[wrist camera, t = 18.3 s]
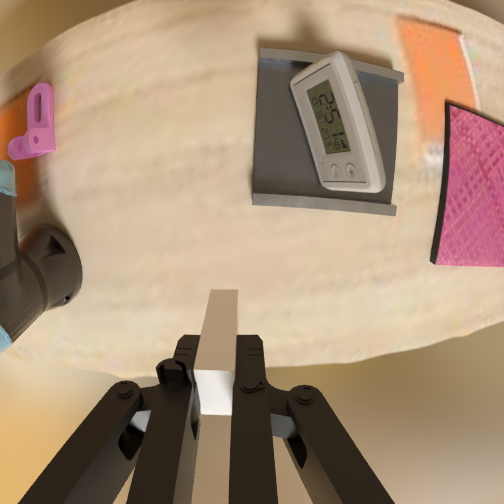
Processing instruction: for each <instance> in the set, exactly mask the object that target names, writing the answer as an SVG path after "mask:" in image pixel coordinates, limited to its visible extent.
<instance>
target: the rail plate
mask: <svg viewBox="0 0 504 504" xmlns="http://www.w3.org/2000/svg"><path fill="white" fill-rule="evenodd" d="M324 56H325V54H318V53H311V52H303V51H295V50H285V49H272V48H260V57H259V77H258V96H257V117H256V137H255V157H254V178H253V198H252V205H262V206H280V207H296V208H311V209H324V210H336V211H348V212H359V213H369V214H379V215H389V216H396V209H397V206H396V205H394V204H392V203H391V198H392V190H393V181H394V171H395V159H396V144H397V122H398V84H400V83H403V82H404V73H403V72H400V71H396V70H393V69H389V68H386V67H382V66H378V65H374V64H370V63H366V62H361V61H357V60H352V59H350V60H351V62H352V64H353V66H354V69H355V71H356V74H357V77H358V79H359V82H360V85H361V88H362V91H363V94H364V97H365V100H366V103H367V106H368V109H369V113H370V116H371V119H372V123H373V126H374V130H375V133H376V137H377V141H378V145H379V149H380V153H381V157H382V161H383V166H384V171H385V176H386V183H385V186H384V188H383V189H382V191H380V192H378V193H368V192H354V191H338V190H329V189H327V188H325V187H323V186H322V184H321V182H320V179H319V176H318V173H317V169H316V166H315V162H314V159H313V155H312V152H311V148H310V145H309V142H308V138H307V135H306V132H305V129H304V126H303V123H302V119H301V116H300V113H299V110H298V107H297V104H296V101H295V98H294V96H293V93H292V90H291V86H290V82H291V80H292V79H293V77H294V76H295V75H296V74H298V73H299V72H301V71H302V70H304V69H305V68H307V67H308V66H310V65H311V64H313V63H314V62H316V61H317V60H319V59H321V58H322V57H324Z"/></svg>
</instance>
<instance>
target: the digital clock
mask: <svg viewBox="0 0 504 504" xmlns="http://www.w3.org/2000/svg"><path fill="white" fill-rule="evenodd" d="M290 86H291V90H292V93H293V96H294V98H295V101H296V104H297V107H298V110H299V113H300V116H301V119H302V123H303V126H304V129H305V132H306V135H307V138H308V142H309V145H310V148H311V152H312V155H313V159H314V162H315V166H316V169H317V173H318V176H319V179H320V182H321V184H322V186H323V187H325V188H327V189H329V190H338V191H354V192H368V193H378V192H380V191H382V189H383V188H384V186H385V183H386V176H385V171H384V166H383V161H382V157H381V153H380V149H379V145H378V141H377V137H376V133H375V130H374V126H373V123H372V119H371V116H370V113H369V109H368V106H367V103H366V100H365V97H364V94H363V91H362V88H361V85H360V82H359V79H358V77H357V74H356V71H355V69H354V66H353V64H352V62H351V60H350V58H349V57H348V55H346V54H345V53H344V52H342V51H339V50H335V51H332V52H331V53H329V54H327V55H325V56H324V57H322V58H321V59H319V60H317V61H316V62H314V63H313V64H311V65H310V66H308V67H307V68H305V69H304V70H302V71H301V72H299V73H298V74H296V75H295V76H294V77H293V79H292V80H291V82H290Z"/></svg>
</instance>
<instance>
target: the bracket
mask: <svg viewBox="0 0 504 504" xmlns="http://www.w3.org/2000/svg"><path fill="white" fill-rule="evenodd" d="M40 95H41V120H40V122H39V116H38V99H39V96H40ZM27 127H28V131H27V132H26V133H25V135H24V136H17V137H15V138H13V139H12V140H10V142H9V143H8V147H7V151H8V155H9V157H10V158H11V159H12V160H22V159H30V158H35V157H38V156H40V155H43V154H45V153H48V152H50V151H53V150H56V149H55V136H54V117H53V89H52V86H51V85H50V84H47V83H38V84H37V85H35V86H34V87H33V89H32V90H31V92H30V94H29V96H28V100H27Z"/></svg>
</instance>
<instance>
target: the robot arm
mask: <svg viewBox="0 0 504 504" xmlns="http://www.w3.org/2000/svg"><path fill="white" fill-rule="evenodd" d="M16 197H17V193H16V189H15V169H14V166H13V165H12V163H10V162H9V161H7V160H0V354H1V353H2V352H3V351H4V350H5V349H6V348H7V347H10V346H11V345H12V343H13V342H14V341H15V340H16V339H17V338H18V337H19V336H20V335H21V334H22V333H23V332H24V331H25V330H26V329H27V328H28V327H29V326H30V325H31V324H32V323H33V322H34V321H35V320H36V319H37V318H38V317H39V316H40V315H41V314H42V313H43V312H45V311H48V310H51V309H54V308H58V307H61V306H64V305H66V304H68V303H69V302H70V301H71V300H72V299H73V298H74V297H75V296H76V295H77V294H78V292H79V290H80V288H81V284H82V267H81V263H80V259H79V256H78V254H77V251H76V249H75V247H74V246H73V244H72V243H71V241H70V240H69V238H68V237H67V236H66V235H65V234H64V233H63V232H62V231H61V230H59V229H58V228H56V227H54V226H52V225H48V224H41V225H38V226H36V227H33V228H31V229H29V230H28V231H27V232H26V233H25V234H24V235H23V236H22V237H21V238H20V239H19V241H18V237H17V221H16ZM156 371H157V375H158V379H159V382H160V384H158V385H156V386H152V387H146V388H140V387H139V386H138V385H137V384H136V383H134V382H132V381H120V382H118V383H115V384H114V385H113V386H112V387H111V388H110V389H109V390H108V392H107V393H106V394H105V395H104V396H103V398H102V399H101V400H100V401H99V402H98V404H97V405H96V406H95V407H94V408H93V410H92V411H91V412H90V413H89V414H88V416H87V417H86V418H85V419H84V421H83V422H82V423H81V424H80V425H79V427H78V428H77V429H76V431H75V432H74V433H73V434H72V435H71V437H70V438H69V439H68V440H67V442H66V443H65V444H64V445H63V447H62V448H61V449H60V450H59V452H58V453H57V454H56V455H55V457H54V458H53V459H52V461H51V462H50V463H49V464H48V465H47V467H46V468H45V469H44V470H43V472H42V473H41V474H40V476H39V477H38V478H37V479H36V481H35V482H34V483H33V485H32V486H31V487H30V488H29V490H28V491H27V492H26V494H25V495H24V496H23V498H22V499H21V500H20V502H19V503H18V504H113V502H114V500H115V499H116V497H117V495H118V494H119V492H120V490H121V488H122V487H123V485H124V484H125V482H126V480H127V479H128V477H129V475H130V474H131V472H132V470H133V469H134V467H135V470H134V474H133V478H132V482H131V486H130V490H129V494H128V499H127V502H126V504H191V500H192V490H193V482H194V473H195V465H196V456H197V447H198V440H199V432H200V418H199V414H200V409H201V414H211V415H212V414H213V415H232V417H231V418H232V419H231V443H230V472H229V504H278V496H277V485H276V472H275V461H274V449H273V437H272V436H277V437H282V438H283V441H284V443H285V445H286V447H287V449H288V452H289V454H290V456H291V458H292V460H293V463H294V464H295V467H296V469H297V471H298V473H299V475H300V477H301V480H302V482H303V484H304V486H305V488H306V490H307V492H308V494H309V496H310V498H311V500H312V502H313V504H395V503H394V501H393V500H392V499H391V497H390V496H389V495H388V493H387V491H386V490H385V488H384V487H383V485H382V484H381V482H380V481H379V479H378V478H377V476H376V475H375V473H374V472H373V471H372V469H371V468H370V466H369V465H368V463H367V462H366V460H365V459H364V457H363V456H362V454H361V453H360V451H359V450H358V448H357V447H356V445H355V444H354V442H353V440H352V439H351V437H350V436H349V434H348V433H347V432H346V430H345V428H344V427H343V425H342V424H341V422H340V421H339V419H338V418H337V416H336V415H335V413H334V411H333V410H332V408H331V407H330V405H329V404H328V402H327V401H326V399H325V398H324V396H323V395H322V393H321V392H320V391H319V390H318V389H317V388H315V387H313V386H309V385H300V386H297V387H294V388H292V389H291V390H290V391H284V390H280V389H277V388H275V387H273V386H271V385H270V384H269V383H268V381H267V379H266V374H265V362H264V351H263V341H262V340H261V338H260V337H259V336H258V335H239V316H238V290H211V292H210V296H209V301H208V305H207V309H206V314H205V318H204V323H203V327H202V332H201V335H183V336H182V337H181V338H180V339H179V340H178V343H177V346H176V349H175V353H174V356H173V358H169V359H166V360H163V361H162V362H160V363H159V364H158V365H157V367H156ZM135 465H136V466H135Z"/></svg>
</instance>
